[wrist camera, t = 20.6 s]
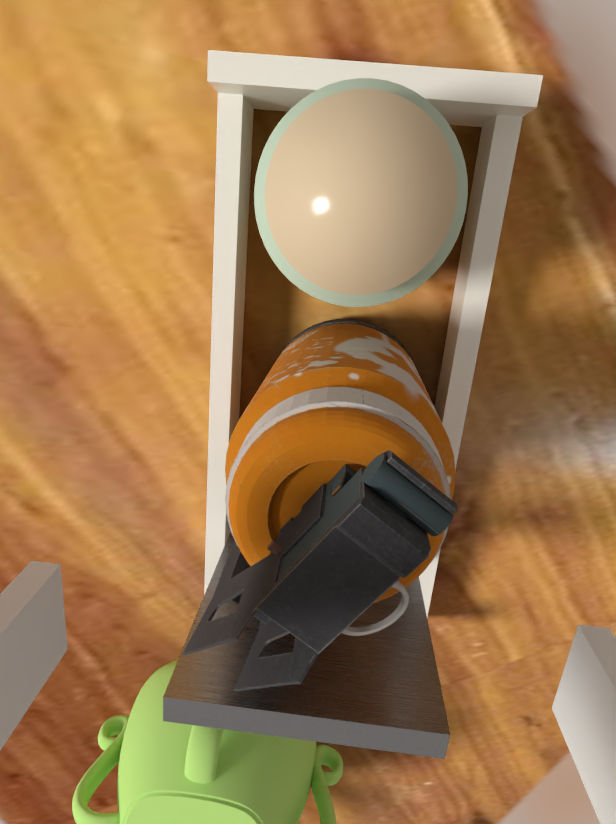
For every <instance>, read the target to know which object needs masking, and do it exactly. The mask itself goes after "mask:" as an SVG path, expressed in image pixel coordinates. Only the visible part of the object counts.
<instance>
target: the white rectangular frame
mask: <svg viewBox="0 0 616 824" xmlns="http://www.w3.org/2000/svg"><path fill="white" fill-rule="evenodd" d="M356 78H374V79H381V80H387V81H390V82H394V83H397V84H400V85H402V86H405V87H407V88H409V89H411V90H413V91H415V92H416V93H418V94H419V95H421V96H422V97H424V98H425V99H426V100H428V101H429V102H430V103H431V104H432V105H433V106H434V107H435V108H436V109H437V110H438V111H439V112H440V113H441V114H442V116H443V117H444V118H445V119H446V121H447V122H448V124H449V125H461V126H473V127H482V129H481V135H480V141H479V147H478V153H477V159H476V165H475V171H474V177H473V183H472V188H471V194H470V200H469V206H468V212H467V218H466V224H465V230H464V236H463V241H462V247H461V253H460V259H459V265H458V271H457V277H456V283H455V289H454V295H453V300H452V306H451V312H450V318H449V324H448V330H447V336H446V342H445V348H444V353H443V359H442V365H441V371H440V377H439V383H438V389H437V395H436V401H435V406H434V407H435V410H436V412H437V414H438V416H439V418H440V420H441V422H442V424H443V427H444V429H445V431H446V433H447V435H448V437H449V440H450V443H451V447H452V450H453V454H454V460H455V469H456V465H457V459H458V454H459V449H460V444H461V438H462V433H463V428H464V423H465V418H466V412H467V407H468V402H469V397H470V391H471V386H472V381H473V376H474V370H475V365H476V360H477V355H478V349H479V344H480V339H481V334H482V328H483V323H484V318H485V313H486V307H487V302H488V297H489V292H490V286H491V281H492V276H493V271H494V265H495V260H496V255H497V250H498V244H499V239H500V234H501V229H502V223H503V218H504V213H505V208H506V202H507V197H508V192H509V187H510V181H511V176H512V171H513V166H514V160H515V155H516V150H517V145H518V139H519V134H520V129H521V124H522V118H523V116H525V115H526V114H528V113H529V112H531V111H532V110H534V109H535V108H536V107H537V104H538V99H539V94H540V89H541V84H542V79H543V75H533V74H520V73H506V72H493V71H480V70H466V69H453V68H440V67H427V66H413V65H400V64H387V63H373V62H360V61H347V60H333V59H320V58H307V57H293V56H280V55H267V54H253V53H240V52H227V51H214V50H208V77H207V82H208V83H209V84H210V85H211V86H212V87H213V88H214V89H215V90H216V91H217V92H218V113H217V150H216V186H215V222H214V259H213V295H212V332H211V368H210V404H209V441H208V477H207V513H206V550H205V586H204V595H205V593H206V590H207V588H208V585H209V583H210V581H211V578H212V576H213V573H214V571H215V568H216V566H217V563H218V561H219V558H220V556H221V554H222V551H223V549H224V546H225V544H226V541H227V539H228V536H229V534H230V531H231V530H230V527H229V523H228V519H227V515H226V504H225V495H226V476H225V463H226V453H227V449H228V445H229V442H230V438H231V435H232V433H233V431H234V429H235V427H236V425H237V422H238V421H239V413H240V392H241V371H242V349H243V328H244V306H245V285H246V264H247V242H248V221H249V199H250V178H251V156H252V135H253V114H254V109H261V110H273V111H286V112H288V111H289V110H290V109H291V108H292V107H293V106H295V105H296V104H297V103H298V102H299V101H301V100H302V99H303V98H305V97H306V96H308V95H309V94H311V93H312V92H314V91H316V90H318V89H320V88H322V87H324V86H327V85H329V84H332V83H336V82H339V81H342V80H349V79H356ZM440 549H441V548H440ZM439 554H440V550H439V552H438V553H437V555H436V556H435V558H434V559H433V561H432V562H431V563H430V564H429V566H428V567H427V568H426V570H425V571H424V572H423V573H422V574H421V575H420V576H419V580H420V585H421V590H422V595H423V600H424V605H425V610H426V615H427V617H428V612H429V606H430V601H431V596H432V591H433V585H434V580H435V575H436V570H437V564H438V559H439Z"/></svg>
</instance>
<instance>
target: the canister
mask: <svg viewBox="0 0 616 824" xmlns="http://www.w3.org/2000/svg"><path fill="white" fill-rule="evenodd" d="M225 476H226V495H225V504H226V515H227V519H228V523H229V527H230V530H231V533H232V535H233V537H234V540H235V541H234V544H233V546H232V549H231V551H230V554H229V555H228V559H227V560H226V563H225V566H224V568H223V571H222V573H221V577H220V578H219V580H218V585H217V587H216V590H215V592H214V595H213V597H212V600H211V601H210V603H209V605H208V607H207V609H206V611H205V613H204V615H203V616H202V618H201V620H200V622H199V624H198V626H197V628H196V630H195V631H194V633H193V635H192V637H191V639H190V641H189V643H188V644H187V646H186V648H185V650H184V652H183V655H184V656H186V655H189V654H192V653H195V652H199V651H202V650H205V649H208V648H211V647H215V646H218V645H221V644H224V643H228V642H231V641H235V640H238V639H239V637H240V636H241V634H242V633H243V631H244V630H245V628H246V627H247V625H248V624H249V622H250V621H251V619H252V618H253V616H255V617H256V618H257V619H259V620H260V621H261V623H260V627H259V631H258V634H257V636H256V638H255V641H254V643H253V645H252V648H251V650H250V653H249V655H248V657H247V660H246V662H245V664H244V667H243V669H242V671H241V674H240V676H239V678H238V681H237V683H236V685H235V688H234V690H235V691H243V690H251V689H259V688H267V687H276V686H284V685H293V684H301V682H302V680H303V679H304V677H305V675H306V674H307V672H308V671H309V669H310V667H311V666H312V664H313V662H314V661H315V659H316V658H317V656H318V654H319V653H320V652H321V651H322V650H324V649H325V648H326V647H327V646H328V645H329V644H330V643H331V642H332V641H333V640H334V639H335V638H336V637H338V636H339V635H340V634H341V633H343V634H346V635H351V636H361V635H367V634H371V633H374V632H377V631H380V630H382V629H384V628H386V627H388V626H389V625H391V624H392V623H394V622H395V621H396V620H397V619H398V618H399V617H400V616H401V615H402V614H403V613H404V611H405V610H406V608H407V606H408V602H409V595H408V592H407V591H406V589H405V588H406V587H407V586H409V585H410V584H411V583H412V582H414V581H415V580H416V579H417V578H418V577H419V576H420V575H421V574H422V573H423V572H424V571H425V570H426V568H427V567H428V566H429V564H430V563H431V562H432V561H433V559H434V558H435V556H436V555H437V553H438V552H439V550H440V548H441V546H442V544H443V542H444V539H445V537H446V535H447V531H448V527H449V524H450V523H451V521H452V518H453V513H454V512H455V511H457V505H456V503H455V502H453V501H452V498H453V494H454V489H455V476H456V469H455V460H454V454H453V450H452V447H451V443H450V440H449V437H448V435H447V433H446V431H445V429H444V427H443V424H442V422H441V420H440V418H439V416H438V414H437V412H436V410H435V407H434V405H433V403H432V401H431V399H430V397H429V395H428V393H427V390H426V388H425V386H424V384H423V382H422V380H421V378H420V376H419V373H418V371H417V369H416V367H415V365H414V363H413V361H412V359H411V357H410V355H409V353H408V352H407V351H406V349H405V348H404V346H403V345H402V344H401V343H400V342H399V341H398V340H397V339H396V338H395V337H394V336H392V335H391V334H390V333H388V332H387V331H385V330H384V329H382V328H380V327H378V326H376V325H374V324H371V323H367V322H364V321H360V320H353V319H335V320H329V321H325V322H322V323H319V324H316V325H313V326H311V327H309V328H308V329H306V330H304V331H302V332H301V333H300V334H298V335H297V336H296V337H294V338H293V339H292V340H291V341H290V342H289V343H288V345H287V346H286V347H285V348H284V350H283V351H282V353H281V354H280V355H279V357H278V359H277V360H276V362H275V363H274V365H273V367H272V368H271V370H270V371H269V373H268V375H267V376H266V378H265V379H264V381H263V382H262V384H261V386H260V387H259V389H258V390H257V392H256V394H255V395H254V397H253V398H252V400H251V402H250V403H249V405H248V406H247V408H246V410H245V411H244V413H243V414H242V416H241V418H240V419H239V421H238V422H237V425H236V427H235V429H234V431H233V433H232V435H231V438H230V442H229V445H228V449H227V453H226V463H225ZM398 592H401V595H402V597H401V601H400V604H399V605H398V607H397V608H396V610H395V611H394V612H393V613H392V614H391V615H389V616H388V617H387V618H385V619H384V620H382V621H380V622H378V623H375V624H373V625H370V626H365V627H348V626H349V625H350V624H352V623H353V622H354V621H355V620H356V619H357V618H358V617H359V616H360V615H361V614H362V613H363V612H364V611H366V610H367V609H368V608H369V607H370V606H371V605H372V604H373V603H375V602H378V601H381V600H383V599H386V598H388V597H391V596H393V595H394V594H396V593H398ZM230 600H233V601H234V602H235V603H237V604H238V605H239V606H238V609H237V611H236V612H234V613H231V614H229V615H226V616H223V617H220V618H218V619H215V620H212V618H213V616H214V615H215V613H216V611H217V610H218V608H219V607H221V606H222V605H224V604H225V603H227V602H229V601H230ZM211 620H212V621H211ZM289 633H291V634H292V635H293V636H295V644H294V650H293V652H291V653H285V654H280V655H274V656H268V657H263V658H261V656H262V654H263V652H264V650H265V648H266V646H267V645H268V643H269V642H271V641H274V640H276V639H278V638H280V637H283V636H285V635H287V634H289Z"/></svg>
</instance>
